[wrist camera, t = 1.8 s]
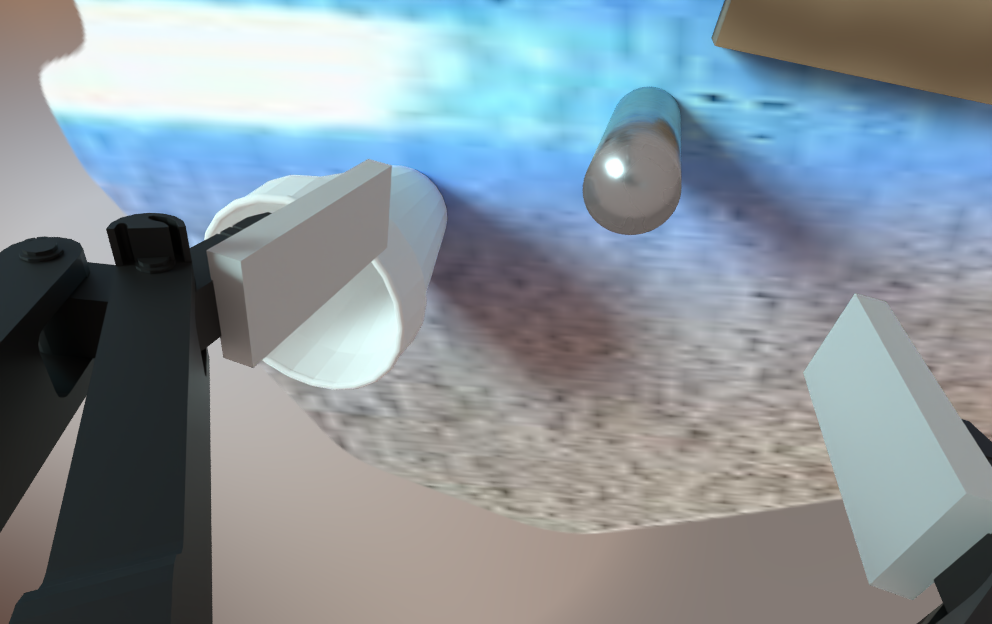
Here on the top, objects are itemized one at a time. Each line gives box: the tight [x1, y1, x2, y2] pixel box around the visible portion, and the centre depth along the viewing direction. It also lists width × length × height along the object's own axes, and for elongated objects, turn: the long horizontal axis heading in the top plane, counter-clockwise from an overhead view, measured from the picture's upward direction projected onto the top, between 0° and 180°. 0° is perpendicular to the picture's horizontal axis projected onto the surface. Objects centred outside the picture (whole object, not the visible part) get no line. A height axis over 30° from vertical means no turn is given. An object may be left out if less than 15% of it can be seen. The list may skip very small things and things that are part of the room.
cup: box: [204, 165, 447, 390], centre depth 34 cm, size 12×12×14 cm
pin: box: [583, 87, 681, 235], centre depth 27 cm, size 4×4×12 cm
